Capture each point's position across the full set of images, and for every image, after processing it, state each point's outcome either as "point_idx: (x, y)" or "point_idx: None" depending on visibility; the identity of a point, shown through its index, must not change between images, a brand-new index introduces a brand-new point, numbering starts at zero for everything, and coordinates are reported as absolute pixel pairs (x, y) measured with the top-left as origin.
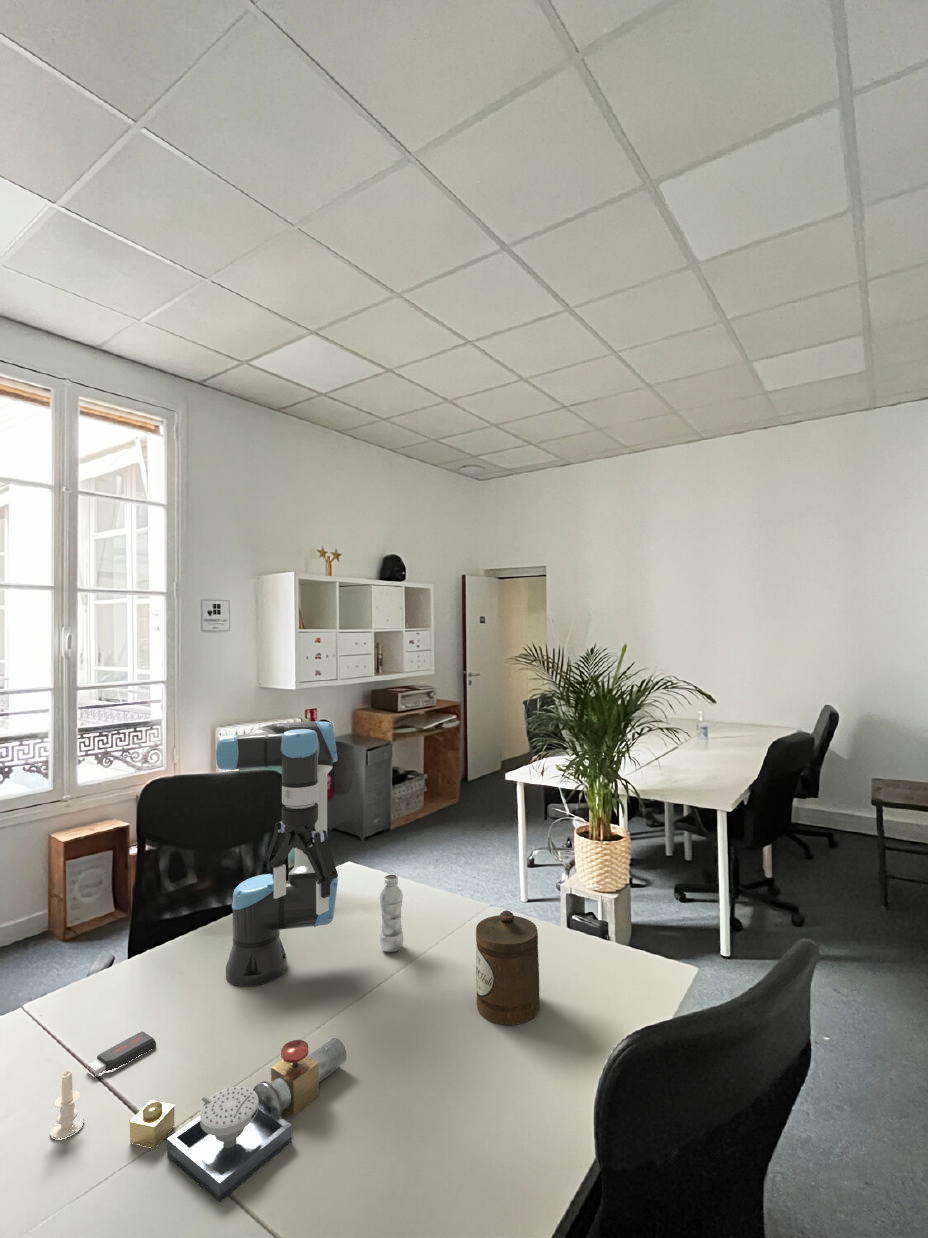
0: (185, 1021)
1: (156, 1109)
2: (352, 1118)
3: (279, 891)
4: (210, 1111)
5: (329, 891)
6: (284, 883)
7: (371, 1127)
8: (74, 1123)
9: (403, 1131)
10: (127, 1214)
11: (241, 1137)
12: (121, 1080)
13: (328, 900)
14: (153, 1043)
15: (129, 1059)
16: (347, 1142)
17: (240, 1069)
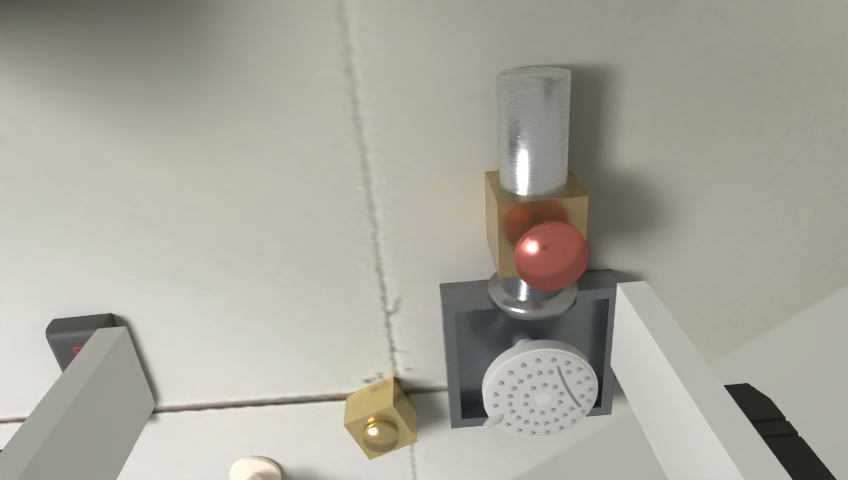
0: (37, 228)
1: (389, 437)
2: (679, 156)
3: (126, 412)
4: (525, 425)
5: (782, 424)
6: (85, 407)
7: (733, 146)
8: (258, 471)
9: (807, 108)
10: (501, 467)
11: (533, 331)
12: (183, 390)
13: (680, 329)
14: (108, 327)
15: None
16: (710, 202)
17: (336, 229)
